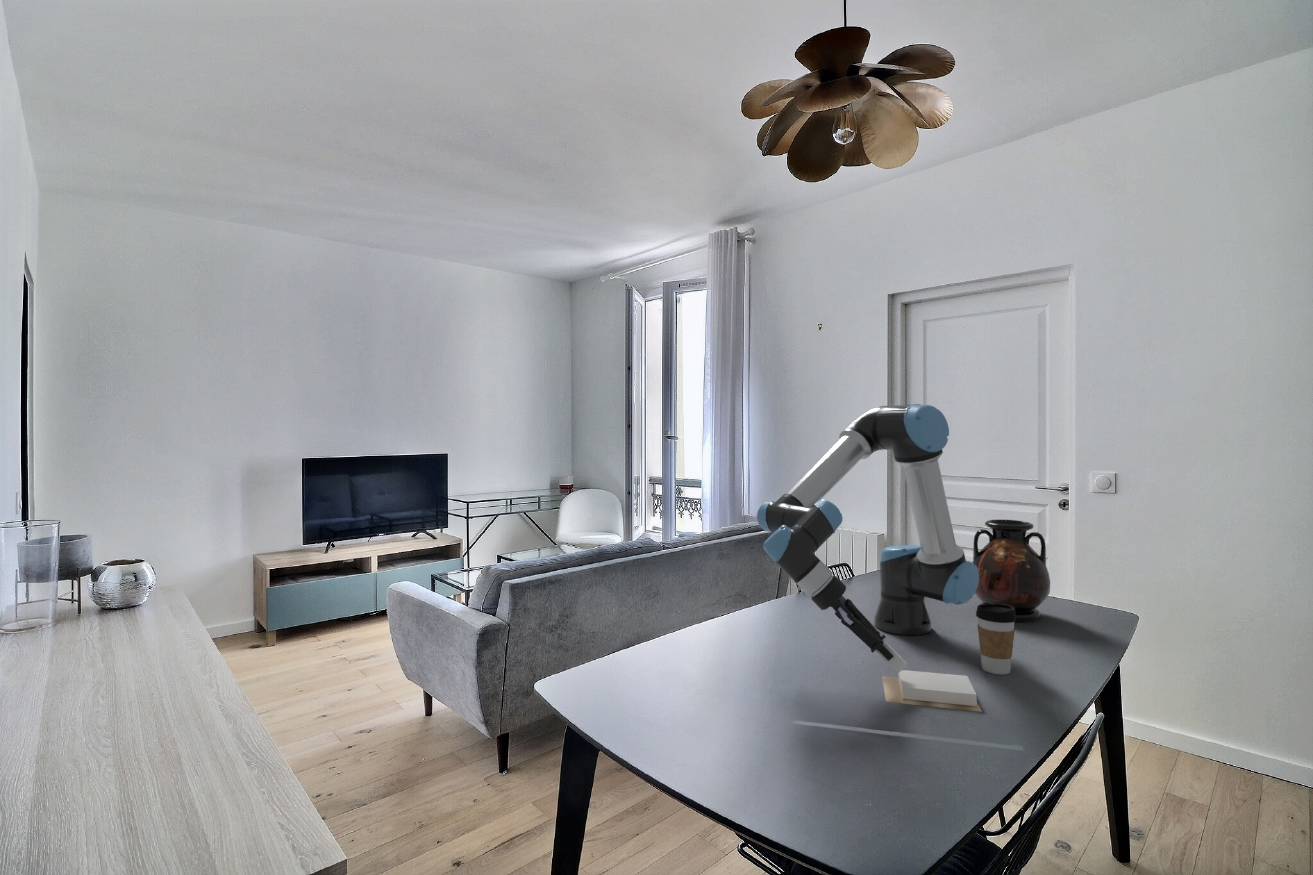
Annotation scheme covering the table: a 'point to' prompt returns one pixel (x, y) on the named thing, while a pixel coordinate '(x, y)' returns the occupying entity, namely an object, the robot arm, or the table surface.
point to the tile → (937, 687)
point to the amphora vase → (1012, 568)
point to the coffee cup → (996, 636)
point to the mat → (895, 696)
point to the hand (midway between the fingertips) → (902, 668)
